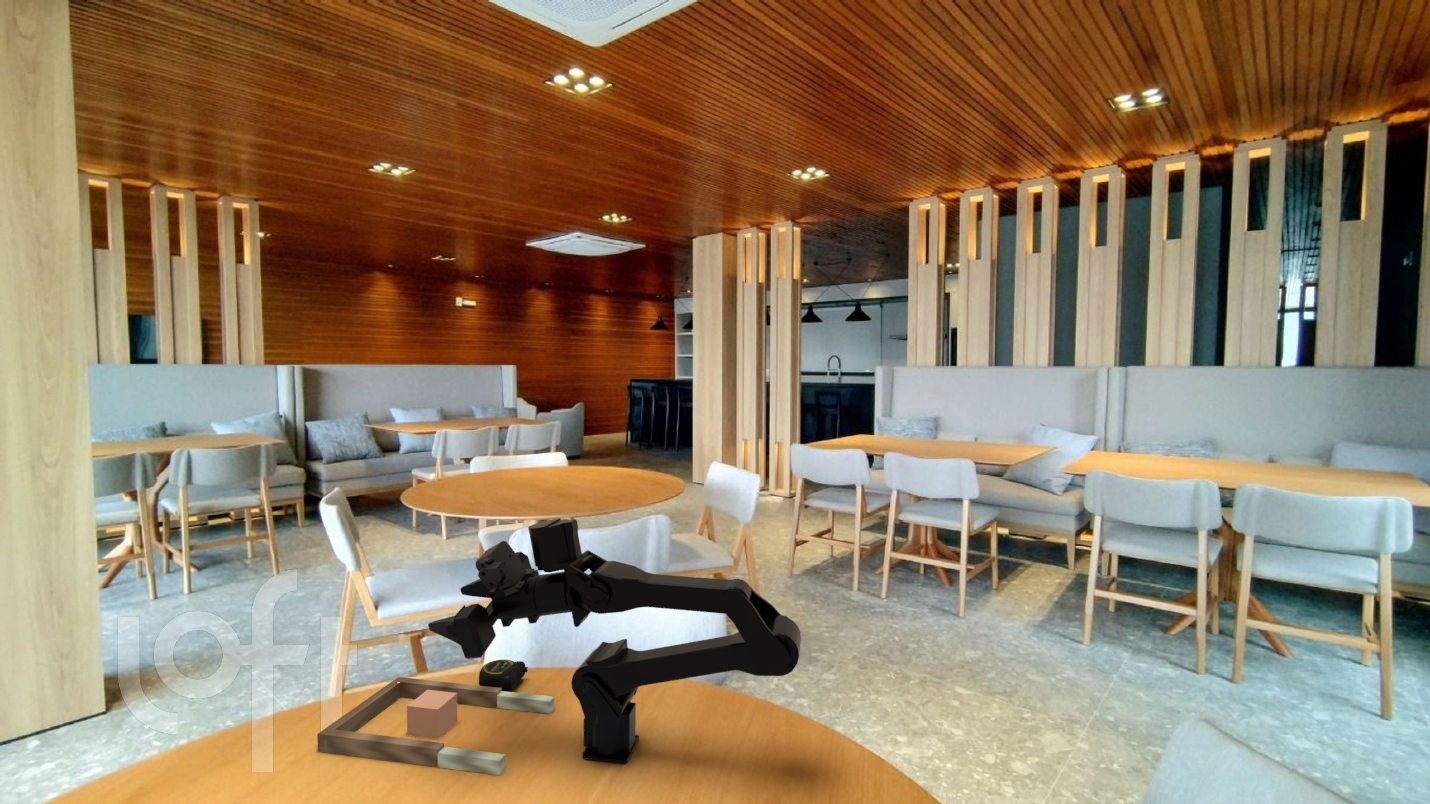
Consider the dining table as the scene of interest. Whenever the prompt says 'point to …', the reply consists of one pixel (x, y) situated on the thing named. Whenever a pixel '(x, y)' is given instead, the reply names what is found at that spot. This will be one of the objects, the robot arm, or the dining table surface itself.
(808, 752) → the dining table surface
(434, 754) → the bay
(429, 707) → the block
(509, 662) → the tape measure
